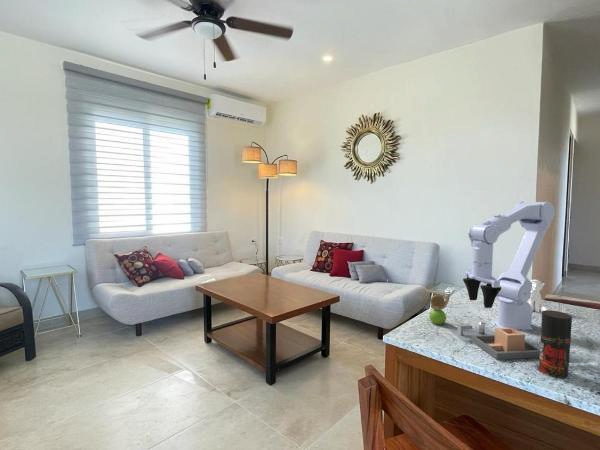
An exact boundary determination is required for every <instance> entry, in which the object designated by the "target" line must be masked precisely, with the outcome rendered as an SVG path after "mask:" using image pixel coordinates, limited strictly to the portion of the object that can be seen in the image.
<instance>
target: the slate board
mask: <svg viewBox="0 0 600 450" xmlns="http://www.w3.org/2000/svg"><path fill="white" fill-rule="evenodd" d="M447 330H448V331H449V332H450V333H452V334H453V335H455V336H456V337H457V338H458V339H459V340H461V341H463V342H465V341H466V342H467V341H471V336H473V335H482V334H479V333H478V332H479V327H472V329H463V335H462V336H460V335H459V334H458V333H457V330H458V328H447ZM484 335H495V330H492V329H491V328H489V327H486V326H485V334H484Z"/></svg>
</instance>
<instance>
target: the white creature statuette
mask: <svg viewBox="0 0 600 450" xmlns="http://www.w3.org/2000/svg"><path fill="white" fill-rule="evenodd" d="M530 282H531V283H532V288H531V296H530V298H529V300H528V301H527V302H528V303H529V304H530V306H531V308H532V313H533V312H535V313H541V314H542V311H545V310H549V308H548V306H545V305H544V304H543V301H542V299H543V298H542V295H541V293H540V292H541V291H542V290H543V287H544V285H545V284H546V283H542V281H541V280H538V279H531V280H530Z"/></svg>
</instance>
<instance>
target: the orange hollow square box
mask: <svg viewBox="0 0 600 450" xmlns="http://www.w3.org/2000/svg"><path fill="white" fill-rule="evenodd" d="M494 332H495V341H494V344H488V346H490V347H491V348H493V349H494V350H503V351H524V346H525V341H526V334H525V333H523V332H521V331H520V330H516V329H514V328H512V327H510V328H502V327H495V328H494Z"/></svg>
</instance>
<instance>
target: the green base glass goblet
mask: <svg viewBox="0 0 600 450" xmlns="http://www.w3.org/2000/svg"><path fill="white" fill-rule="evenodd" d="M447 292H448V293H447V294H445V298H444V297H443V296H442V295H439V294H435V295H433V296H431V298H430V304H431V305H430V308H431V311H430V312H429V320H430V322H431V323H432V324H434V325H438V326H440V325H444V324H445V322H447V314H446V312H445V311H444V309H446V308H447V306H448V304H449V301H450V297H451V294H450V293H451V291H450V290H448V291H447Z"/></svg>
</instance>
